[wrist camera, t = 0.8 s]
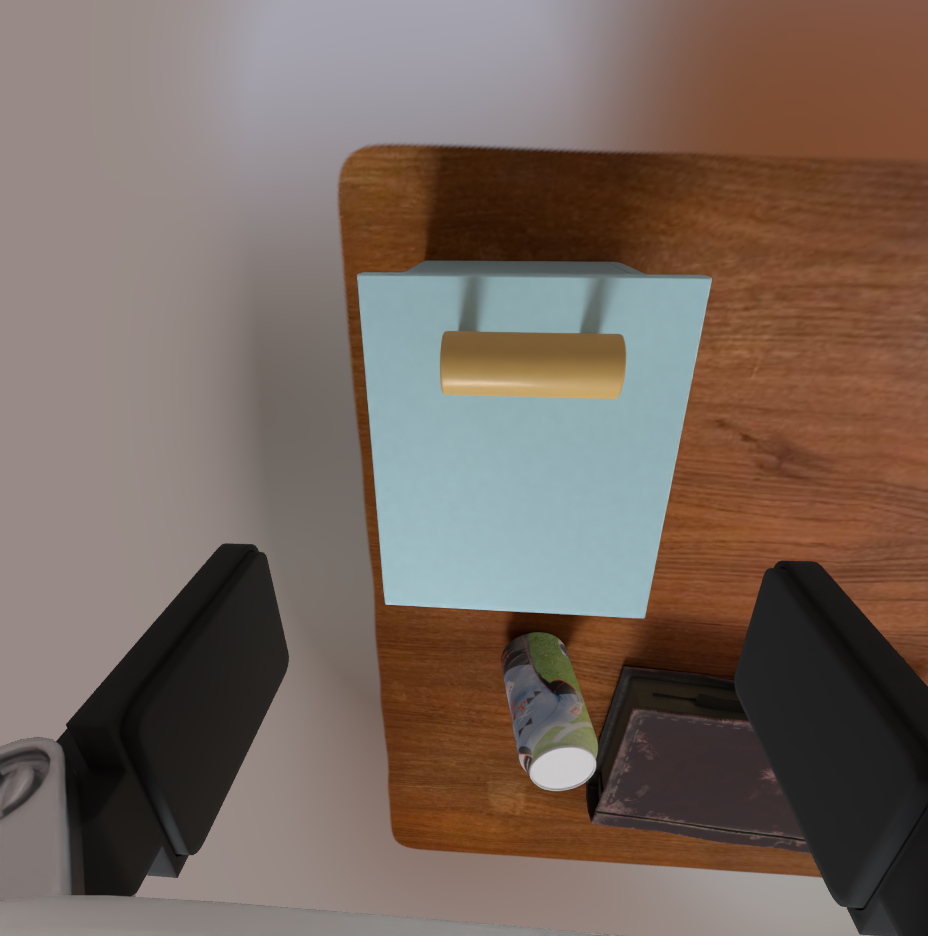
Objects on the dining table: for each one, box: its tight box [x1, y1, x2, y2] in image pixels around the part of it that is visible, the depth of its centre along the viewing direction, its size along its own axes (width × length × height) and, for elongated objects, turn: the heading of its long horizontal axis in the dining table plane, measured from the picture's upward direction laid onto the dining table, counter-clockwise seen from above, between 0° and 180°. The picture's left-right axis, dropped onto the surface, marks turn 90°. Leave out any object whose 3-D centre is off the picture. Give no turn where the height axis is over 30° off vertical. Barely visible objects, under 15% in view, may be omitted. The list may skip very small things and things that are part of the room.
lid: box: [357, 272, 712, 618], centre depth 20 cm, size 15×13×5 cm
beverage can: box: [501, 632, 598, 791], centre depth 43 cm, size 6×7×12 cm
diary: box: [586, 666, 811, 854], centre depth 49 cm, size 19×25×5 cm
